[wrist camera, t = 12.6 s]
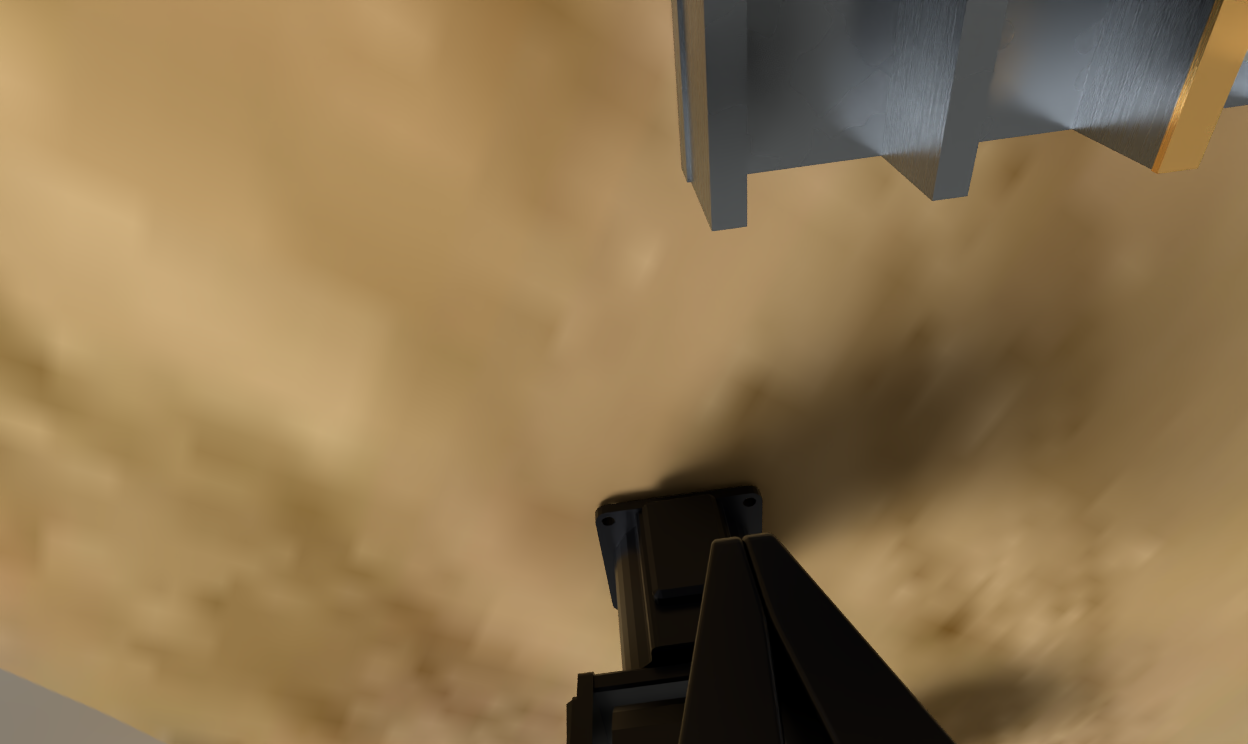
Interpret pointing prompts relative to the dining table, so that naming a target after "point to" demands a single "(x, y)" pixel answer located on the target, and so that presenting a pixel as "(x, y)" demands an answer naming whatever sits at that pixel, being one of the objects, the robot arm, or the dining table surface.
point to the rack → (943, 84)
